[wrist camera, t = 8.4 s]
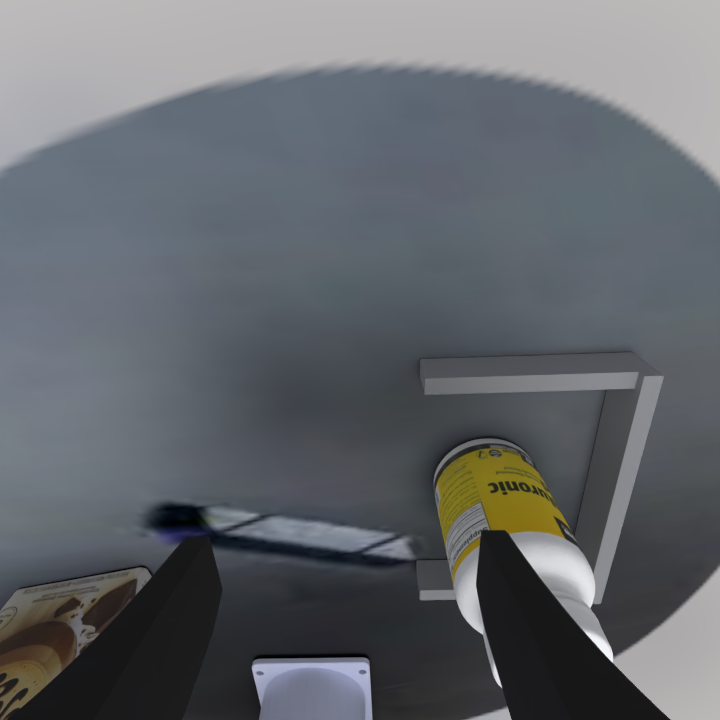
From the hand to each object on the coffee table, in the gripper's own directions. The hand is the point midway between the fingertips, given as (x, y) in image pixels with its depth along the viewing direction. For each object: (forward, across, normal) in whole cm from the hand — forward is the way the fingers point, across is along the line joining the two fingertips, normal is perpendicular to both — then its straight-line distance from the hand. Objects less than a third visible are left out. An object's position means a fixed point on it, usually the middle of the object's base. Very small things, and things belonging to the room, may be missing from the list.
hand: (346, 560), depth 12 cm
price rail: (+10, -8, +6) cm, 14 cm away
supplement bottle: (+11, -6, +6) cm, 14 cm away
